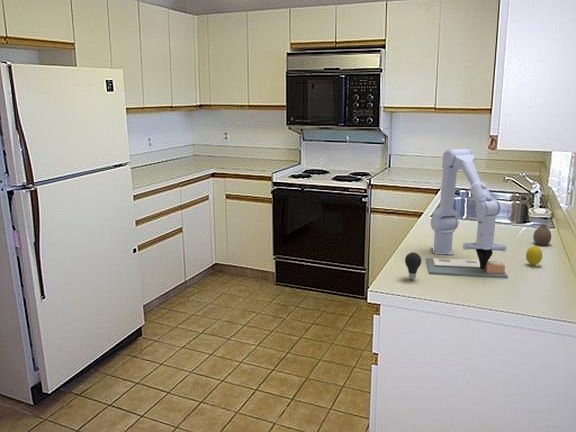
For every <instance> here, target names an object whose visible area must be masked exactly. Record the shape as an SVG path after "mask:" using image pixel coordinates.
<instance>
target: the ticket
mask: <svg viewBox="0 0 576 432" xmlns="http://www.w3.org/2000/svg"><path fill="white" fill-rule="evenodd" d="M433 261H434V265H435V266H436V267H455V268H475V269H480V262H479V259H462V258H461V259H460V258H459V259H458V258H438V257H436V258H435V257H433Z"/></svg>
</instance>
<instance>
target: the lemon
mask: <svg viewBox="0 0 576 432" xmlns="http://www.w3.org/2000/svg"><path fill="white" fill-rule="evenodd" d="M525 254H526V255H525V259H526V261H527V262H528V263H529V264H530V265H531V266H532V267H533V266H534V267H535V266H536V265H538V264H540V263H541V262H542V259H543V250H542V249H541V248H540V247H538V246H537V245H534V246H530V247H529V248H527V251H526V253H525Z"/></svg>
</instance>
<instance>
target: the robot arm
mask: <svg viewBox="0 0 576 432" xmlns="http://www.w3.org/2000/svg"><path fill="white" fill-rule="evenodd" d="M475 158H476V156H475V155H474V151H473V150H472V149H471V148H456V149H454V148H453V149H451V148H450V149H446V151H444V152H443V155H442V165H441V166H442V167H441V168H442V179H441V190H440V200H439V208H437V209H436V210H434V211H433V212H432V216H431V219H430V227H431V229H432V231H433V232H434V237H433V246H434V250H433V251H432V254H433V253H436V254H435V255H446V254H448V255H454V251H453V248H452V247H453V238H454V237H453V235H454V233H455V230H456V229H458V227H459V217H458V216H459V214H458V212H457V211H456V210H455V209H454V205H455V204H454V202H455V193H456V184H457V173H458V171H459V170H461V171H462V172H463V173H464V176H465V177H466V179H467V180H468V182H469V184H470V188H469V191H470V194H471V195H472V197H473V200H474V202H475V204H476V206H475V213H476V220H477V230H476V231H477V232H476V241H475V242H463V243H462V249H463V250H465V251H466V250H474V251H475V252H476V253H477V254H476V255H477V257H478V260H479V262H480V269H481V270H485V267H486V264H487V262H488V261H490V258H491V257H492V256H493V254H494V253H493V251H498V252H499V251H500V252H501V251H502V252H506V251H507V245H505V244H500V243H494V241H495V231H496V230H495V229H496V228H495V227H496V219H497V216H498V215H499V214H500V213H501V204H500V202H499V201H498V199H496V198H494V196H492V195H491V192H490V191H489V189H488V186H487V185H486V183H485V182H482V181H481V179H480V176H479V173H478V171H477V168H476V166H475V164H474V163H475V161H476V160H475ZM448 255H447V256H448Z"/></svg>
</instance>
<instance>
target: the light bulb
mask: <svg viewBox="0 0 576 432" xmlns="http://www.w3.org/2000/svg"><path fill="white" fill-rule="evenodd" d="M404 263H405V266H406V267H407V270H408V279H410V280H411V279H414V280H416V278H417V273H418V270H419V268H420V266H421V264H422V257H421V256H420V254H418V253H417V252H409V253H407V255H406V256H405V258H404Z"/></svg>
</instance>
